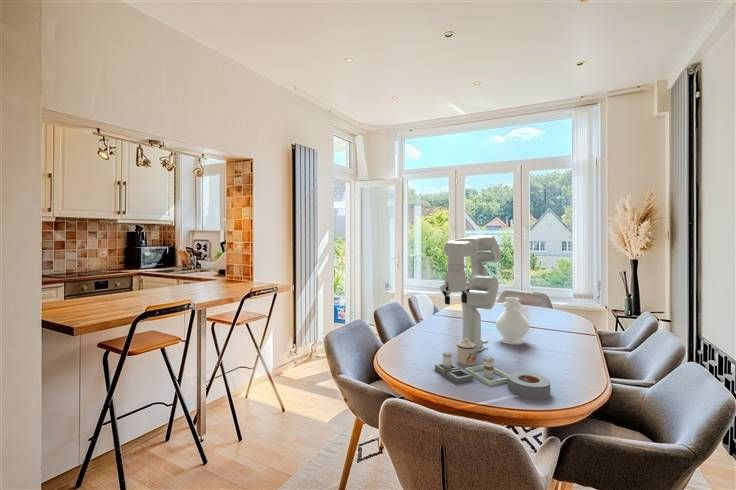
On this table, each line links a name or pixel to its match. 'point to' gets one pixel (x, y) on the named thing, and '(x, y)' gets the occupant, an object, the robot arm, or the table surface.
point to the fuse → (447, 360)
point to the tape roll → (529, 385)
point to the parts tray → (490, 383)
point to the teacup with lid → (466, 352)
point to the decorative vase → (512, 322)
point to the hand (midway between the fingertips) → (455, 303)
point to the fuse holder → (454, 374)
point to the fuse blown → (488, 367)
